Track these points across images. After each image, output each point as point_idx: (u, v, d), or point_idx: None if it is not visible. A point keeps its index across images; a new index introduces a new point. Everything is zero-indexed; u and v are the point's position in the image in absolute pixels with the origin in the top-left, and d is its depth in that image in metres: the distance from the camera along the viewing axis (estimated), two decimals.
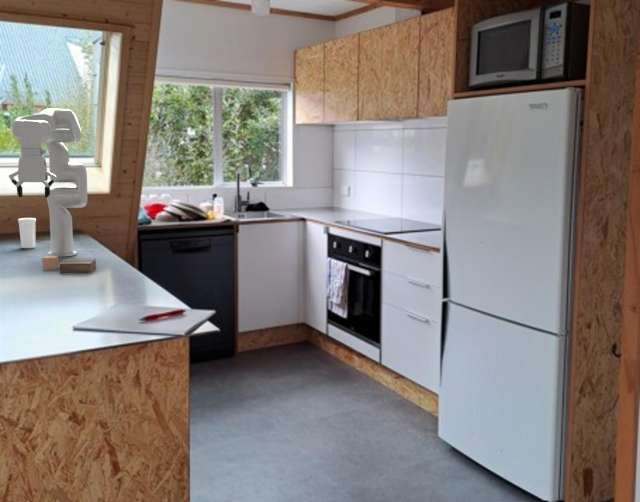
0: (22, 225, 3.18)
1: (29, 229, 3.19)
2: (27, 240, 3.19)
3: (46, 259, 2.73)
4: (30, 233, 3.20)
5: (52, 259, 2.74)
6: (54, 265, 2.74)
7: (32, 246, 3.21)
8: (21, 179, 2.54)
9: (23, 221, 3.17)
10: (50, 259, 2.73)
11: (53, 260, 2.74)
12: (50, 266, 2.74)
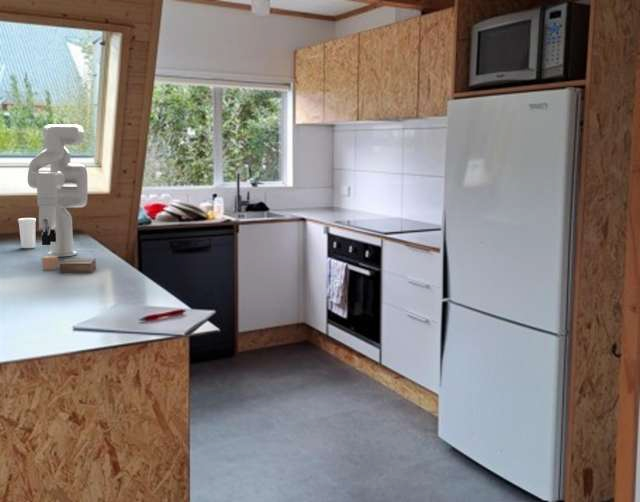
0: (22, 225, 3.18)
1: (29, 229, 3.19)
2: (27, 240, 3.19)
3: (46, 259, 2.73)
4: (30, 233, 3.20)
5: (52, 259, 2.74)
6: (54, 265, 2.74)
7: (32, 246, 3.21)
8: (51, 227, 2.70)
9: (23, 221, 3.17)
10: (50, 259, 2.73)
11: (53, 260, 2.74)
12: (50, 266, 2.74)
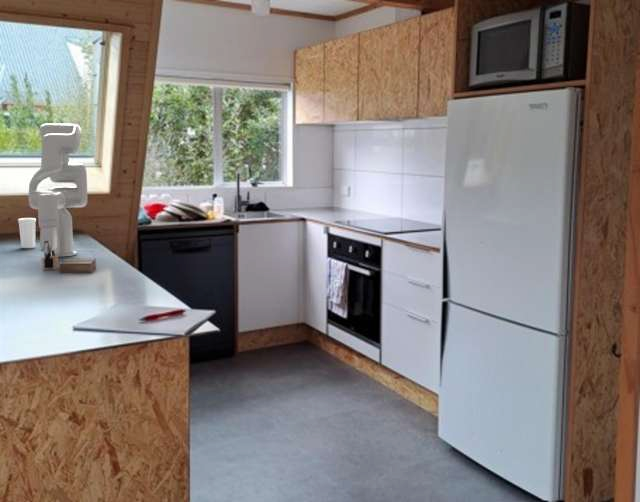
0: (22, 225, 3.18)
1: (29, 229, 3.19)
2: (27, 240, 3.19)
3: None
4: (30, 233, 3.20)
5: None
6: (54, 265, 2.74)
7: (32, 246, 3.21)
8: (52, 249, 2.72)
9: (23, 221, 3.17)
10: None
11: (53, 259, 2.74)
12: None
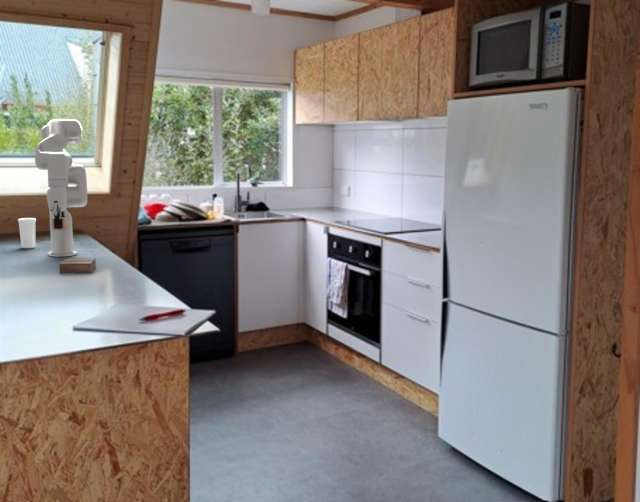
0: (22, 225, 3.18)
1: (29, 229, 3.19)
2: (27, 240, 3.19)
3: None
4: (30, 233, 3.20)
5: None
6: (63, 226, 2.70)
7: (32, 246, 3.21)
8: (62, 209, 2.67)
9: (23, 221, 3.17)
10: None
11: (63, 220, 2.69)
12: None
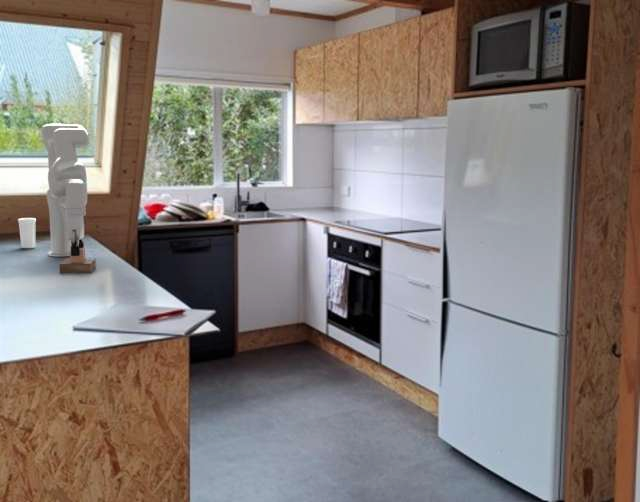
0: (22, 225, 3.18)
1: (29, 229, 3.19)
2: (27, 240, 3.19)
3: None
4: (30, 233, 3.20)
5: None
6: (81, 257, 2.71)
7: (32, 246, 3.21)
8: (80, 237, 2.68)
9: (23, 221, 3.17)
10: None
11: (81, 252, 2.70)
12: (77, 258, 2.70)
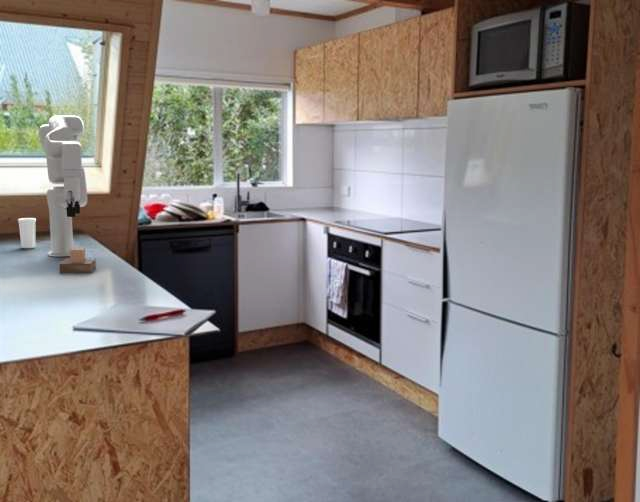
0: (22, 225, 3.18)
1: (29, 229, 3.19)
2: (27, 240, 3.19)
3: (73, 251, 2.70)
4: (30, 233, 3.20)
5: (79, 251, 2.70)
6: (81, 257, 2.71)
7: (32, 246, 3.21)
8: (76, 199, 2.67)
9: (23, 221, 3.17)
10: (77, 251, 2.70)
11: (81, 252, 2.70)
12: (77, 258, 2.70)
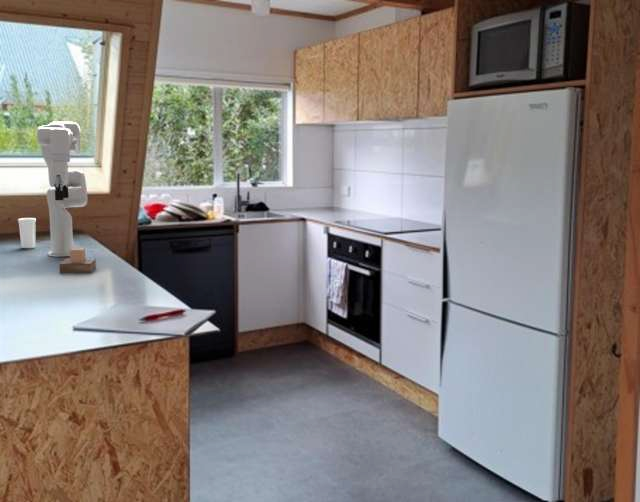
0: (22, 225, 3.18)
1: (29, 229, 3.19)
2: (27, 240, 3.19)
3: (73, 251, 2.70)
4: (30, 233, 3.20)
5: (79, 251, 2.70)
6: (81, 257, 2.71)
7: (32, 246, 3.21)
8: (64, 183, 2.76)
9: (23, 221, 3.17)
10: (77, 251, 2.70)
11: (81, 252, 2.70)
12: (77, 258, 2.70)
